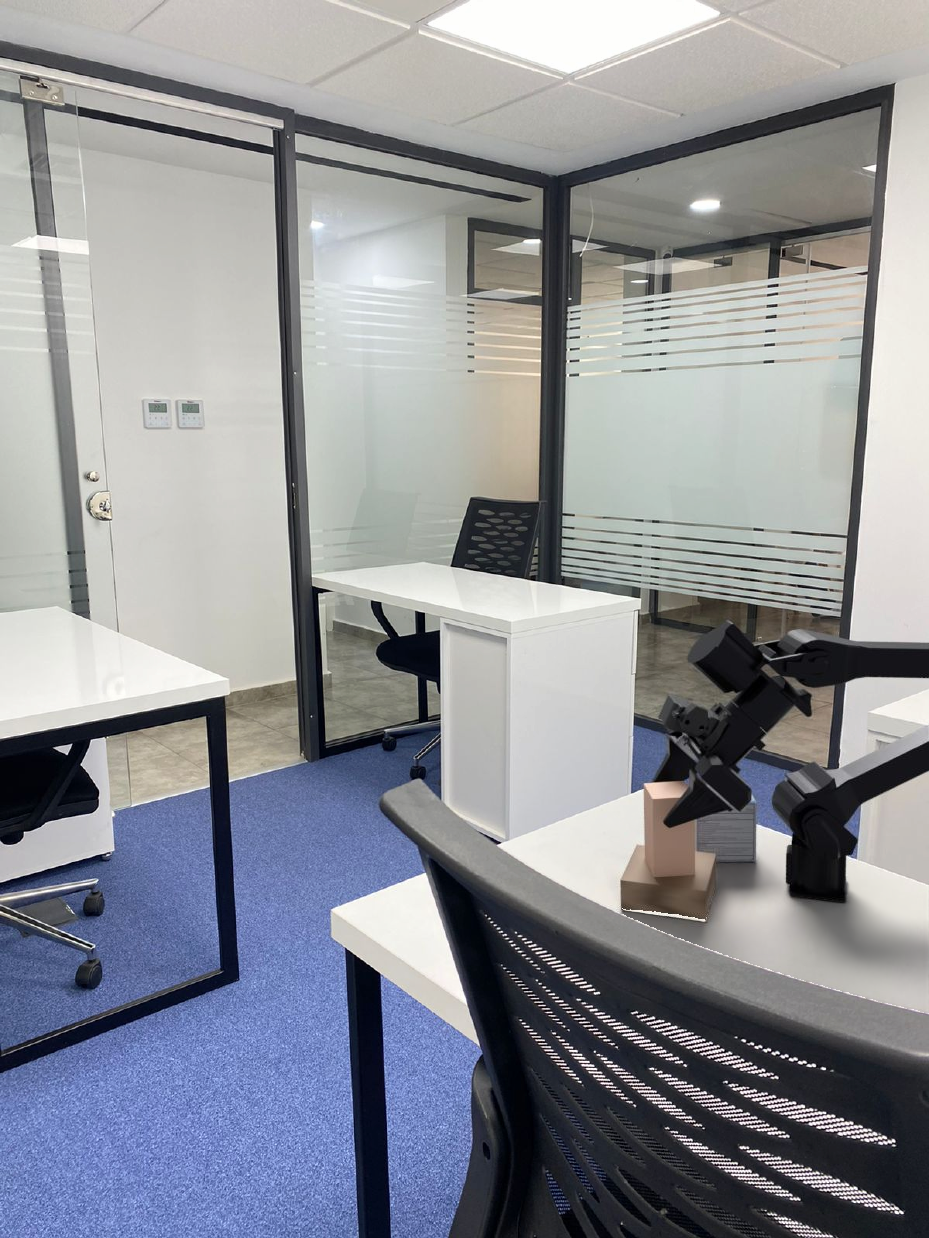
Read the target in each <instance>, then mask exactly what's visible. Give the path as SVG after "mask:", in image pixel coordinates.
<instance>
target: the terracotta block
mask: <svg viewBox="0 0 929 1238" xmlns="http://www.w3.org/2000/svg"><path fill="white" fill-rule="evenodd" d="M688 787H689V785H688V784H686V782H685V781H674V782H658V783H651V782H647V783H646V782H644V783H643V829H644V835H643V837H644V845H645V860H646V862H647V864H648V866H649V868H650V870H651V872H652V875H653V877H667V876H683V875H695V820H693V821H690V822H687V823H684V824H681V825H678V826H675V827H672V828H668V827H667V826H666V825H664V823H663V820H664V819H665V817H666V816H667V814H668V813H669V811H670V810H671V809H672V808H673V806H674V805H675V804H676V802H677V801H678V800H679V799H680V797H681V796H682V795H683V793H684V792H685V791H686V790H687V788H688Z"/></svg>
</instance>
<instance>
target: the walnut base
mask: <svg viewBox="0 0 929 1238" xmlns="http://www.w3.org/2000/svg"><path fill="white" fill-rule="evenodd" d="M715 885H717V862H716V854H715V853H706V852H697V851H695V875H683V876H667V877H653V875H652V872H651V870H650V868H649V866H648V864H647V862H646V860H645V844H643V845H642V844H636V845H635V848H634V850H633V852H632V854H631V855H630V858H629V860H628V862H627V865H626V867H625V869H624V872H623V874H622V876H621V878H620V911H621V910H623V909H626V910H630V909H631V910H643V911H652V912H654V911H656V912H661V913H668V914H679V915H682V916H688V917H695V918H698V919H705V920H706V917H707V918H708V916H707V914H708V915H709V913H708V910H709V911H710V909H709V907H710V908H711V905H710V903H711V904H712V901H711V899H712V900H713V897H712V896H714V893H715V889H714V888H716V886H715ZM713 892H714V893H713ZM622 908H623V909H622ZM622 912H625V911H624V910H623V911H622ZM706 921H707V920H706Z"/></svg>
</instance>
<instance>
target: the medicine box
mask: <svg viewBox="0 0 929 1238" xmlns="http://www.w3.org/2000/svg"><path fill="white" fill-rule="evenodd" d="M757 803H758V802H757V801H756V799H755V797H754V796H753V794H752V800H751V801H750V802H749V803H748V804H747V805H746V806H745V807H744V808H743V809H742V810H741V811H740V812H739V811H738V810H737V809H735V808H734V807H733V806H732V805H731V804H730V805H731V807H732V808H733V810H732V811H731V812H729V811H723V812H719V813H716V814H712V815H708V816H705V817H702V818H699V819H696V820H695V851H697V852H706V853H715V854H716V863H719V862H720V863H723V862H724V863H727V862H729V863H734V862H736V863H738V862H739V863H741V862H745V863H746V862H755V863H756V861H757V813H758V812H757V811H758V804H757Z"/></svg>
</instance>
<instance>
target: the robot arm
mask: <svg viewBox="0 0 929 1238" xmlns="http://www.w3.org/2000/svg"><path fill="white" fill-rule="evenodd" d="M686 659H687V662H688V663H689V664H690V665H691V666H692V667H693V668H694V669H695V670H697V672H698V673H700V674H701V675H702V676H703V677H704V678H705V679H706V680H707V681H708V682H710V683H711V684H712V685H713V687H715V688H716V689H717V690H719V691H720V692H721V693H722V694H729V693H732V692H733V693H735V695H734V696H733V697H732V698H731V699H730V700H729V701H728V702H727V703H726V704H725V705H724V704H723V703H721V702H719V703H718V702H717V703H714V705H713V706H711V707H710V709H709V708H706V707H705V706H703V705H700V704H697V703H695V702H692V701H689V700H687V699H685V698H681V697H679V696H677V695H674V694H671V693H668V695H667V696H666V699H665V700H664V702H663V706H662V707H661V709H660V712H659V714H658V715H657V718H658V720H661V721H662V725H663V726H664V728H665V729H666V731H667V732H668V733H669V734H668V733H665V734H664V738H665V744H666V745H665V746H666V752H665V755H664V758H663V759H662V762H661V764H660V766H659V767H658V769H657V771H656V773H655V775H654V776H653V779H652V781H651V782H650V783H658V782H674V781H684V782H685V781H686V780H689V784H688V788H687V790H686V791H685V792H684V793H683V795H682V796H681V797H680V799H679V800H678V801H677V802H676V804H675V805H674V806H673V808H672V809H671V810H670V811H669V813H668V814H667V816H666V817H665V819H664V820H663V823H664V825H666V826H667V827H668V828H672V827H675V826H678V825H681V824H684V823H687V822H690V821H693V820H696V819H699V818H702V817H705V816H708V815H712V814H716V813H719V812H723V811H729V812H731V811H732V810H733V808H732V807H731V805H732V806H733V807H734V808H735V809H737V810H738V811H739V812H740V811H741V810H742V809H743V808H744V807H745V806H746V805H747V804H748V803H749V802H750V801H751V800H752V795H753V793H752V791H753V790H752V788H751V787H750V785H749V784H748V783H747V782H746V781H745V779H743V777H742V776H741V775H740V774H739V773H740V772H741V771H742V769H741V767H739V766H738V764H739V763H740V762H741V761H742V760H743V759H744V758H745V757H746V756H747V755H748V754H750V752H751V751H752V750H753V749H754V748H756V749H757V750H758V751H759V752H761V751H762V750H763V749H764V748H765V747H766V746H767V745H766V743H765V742H764V741H762V740H763V739H764V738H765V737H766V736H767V735H768V734H769V733H770V732H771V731H772V730H773V729H774V728H775V727H776V726H777V725H778V724H779V723H780V722H781V721H782V720H783V719H785V717H786V716H787V715H788V714H789V713H790V712H791V711H792V710H793V709H794V708H796V709H797V710H798V711H799V712H800V713H801V714H802V715H804V716H805V717H807V718H811V716H812V715H813V711H812V696H813V695H812V693H811V692H809V691H808V690H807V689H805V688H801V689H800V688H798V689H797V688H796V687H794V685H793V684H791V682H790V681H788V680H787V679H786V677H787V678H791V679H794V680H795V682H798V683H799V684H801V685H802V686H803V687H807V688H812V689H819V688H820V689H821V688H825V687H831V686H839V685H844V684H846V683H849V682H851V681H854V680H857V679H863V678H887V679H890V678H892V679H894V678H895V679H896V678H897V679H904V678H905V679H929V642H914V641H913V642H909V641H905V642H904V641H868V640H867V641H865V640H863V641H860V640H858V641H857V640H852V639H848V638H842V637H838V636H835V635H832V634H827V633H824V632H818V631H813V630H807V629H801V628H800V629H798V628H797V629H792V630H790V631H788V632H786V633H785V635H783V637H781V638H779V639H774V640H771V641H770V640H769V641H767V642H766V641H765V642H761V643H760V642H759V643H755V644H754V643H753V642H752V641H750V640H749V639H748V638H747V637H746V636H745V635H744V633H743V632H742V630H741V629H740V628H739V627H738V626H737V625H736V624H734V623H733V622H732V621H731V620H725V622H724V623H722V625H721V626H718V627H716V628H713V629H712V630H710V631H708V632H707V633H706V634H704V635H701V636H700V637H699V638H698V639H697V641H695V642H694V644H693V645H692V647H691V648H690V650H689V652H688V655H687V658H686ZM765 666H766V667H767V668H769V669H770V670H771V671H773V672H774V673H776V674H777V675H772V676H769V675H768V674H767V673H766V672H765V671H764V670H763V669H762V668H763V667H765ZM928 772H929V724H927V725H925V726H923V727H921V728H919V729H917V730H915V731H913V732H911V733H909V734H907V735H905V736H903V737H900V738H898V739H896V740H895V741H892V742H890V743H889V744H887V745H884V746H882V747H881V748H878V749H875V750H874V751H872V752H870V753H868V754H866V755H864V756H861V757H860V758H858V759H856V760H854V761H851V762H850V763H847V764H846V765H844V766H841V767H839V768H836V769H825V768H824V767H822V765H820V764H819V763H818V762H817V761H811V762H810V763H807V764H806V765H805V766H803V767H802V768H800V769H798V770H796V771H793V772H787V773H784V777H785V779H783V780H782V781H780V782H778V783H777V785H776V786H775V787H774V791H773V794H772V797H771V805H772V809H773V812H775V814H776V815H777V816H778V817H779V819H780V820H781V821H782V822H783V824H784V825H786V827H787V828H788V829H789V830H790V831H791V833H792V834H791V844H788V845H787V846H786V853H785V883H786V885H789V886H788V887H789V889H788V895H790V896H791V897H799V898H807V899H813V900H814V899H815V900H822V901H831V902H838V903H839V902H840V903H846V902H847V894H848V893H847V856H852V855H853V854H854V852H855V849H856V847H857V844H858V840H859V839H858V838H857V837H856V836H855V835H854V833H852V832H851V831H850V829H848V827H846V825H847V824H848V823H849V822H850V820H851V819H852V818H853V816H854V814H855V813H856V811H858V809H859V808H860V806H862V805H863V804H865V803H867V802H868V801H869V802H870V800H873V799H875V798H877V797H878V796H881V795H882V794H885V793H887V792H889V791H891V790H893V789H896V788H897V787H899V786H901V785H903V784H906V783H907V782H909V781H912V780H913V779H915V778H918V777H919V776H922V775H924V774H926V773H928ZM730 804H731V805H730Z"/></svg>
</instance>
